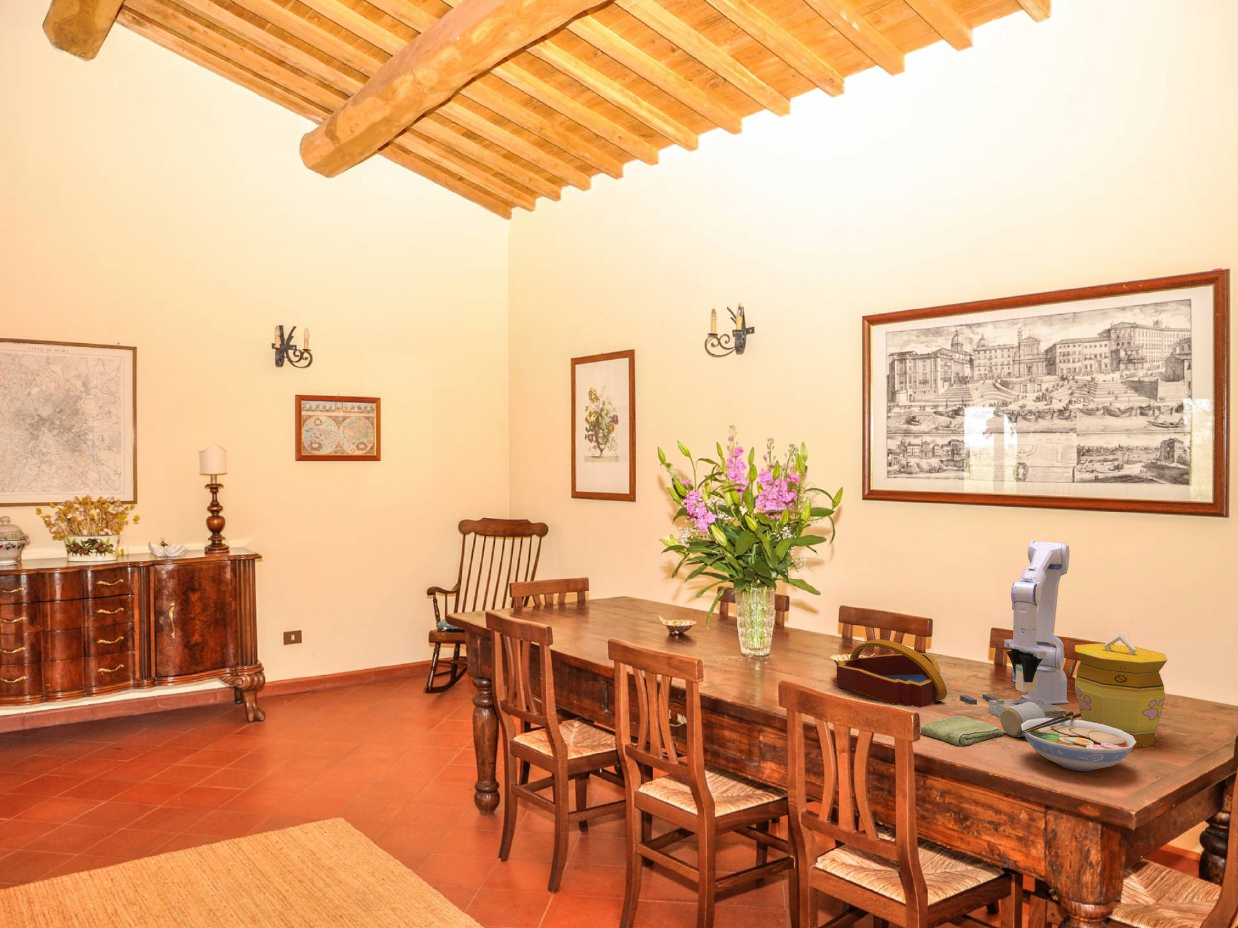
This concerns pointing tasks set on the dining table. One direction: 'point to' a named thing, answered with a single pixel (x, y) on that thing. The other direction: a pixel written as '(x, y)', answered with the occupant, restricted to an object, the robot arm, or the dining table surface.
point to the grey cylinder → (1019, 717)
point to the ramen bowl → (1077, 742)
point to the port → (1000, 705)
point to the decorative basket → (893, 675)
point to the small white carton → (1024, 685)
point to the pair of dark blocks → (974, 701)
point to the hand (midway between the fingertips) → (1023, 680)
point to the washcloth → (960, 730)
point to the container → (1121, 687)
